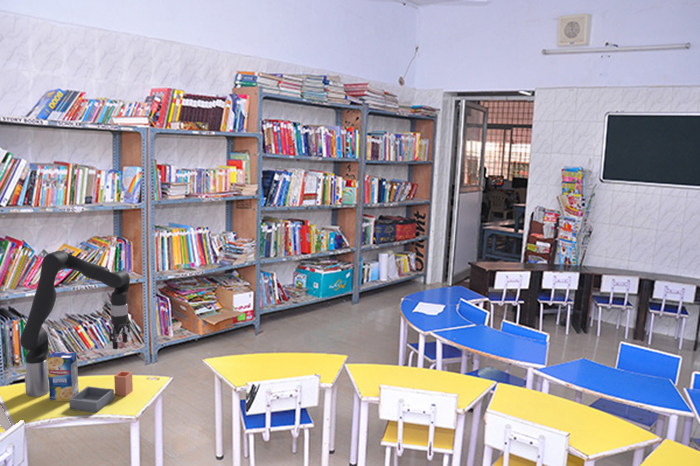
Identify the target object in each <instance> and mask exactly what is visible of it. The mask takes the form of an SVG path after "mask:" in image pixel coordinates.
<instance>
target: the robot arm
mask: <svg viewBox="0 0 700 466" xmlns="http://www.w3.org/2000/svg"><path fill="white" fill-rule="evenodd" d="M41 262H42V263H41V268H40V273H39V279H38V282H37V286H36V290H35V293H34V295H33V296H34V297H33V300H32V303H31V308H30V311H29V313H28V318H27V320H26V323H25V325H24V328H23V330H22V333H21V335H20V341H19V342H20V345H21V347H22V349H24V350H26V351H28V352H27V354H26V355H25V358H24V359H25V371H26V372H25V373H26V375H24V384H25V385H24V387H25V395H28V396H29V397H31V398H36V397H41V396H45V395H47V394H48V393H49V378H48V363H47V357H48V354H49V335H48V332H47V330H46V329H45V328H44V327H43V324H44V323H45V321H46V320H47V319H48V317H49V316H50V315H51V313H52V311H53V308H54V307H55V304H56V299H57V290H56V288H55V281H56V278H57V275H58V273H59V272H60V271H64V270H74V271H77V272H78V273H80V274H82V275H83V276H84V277H85V278H88V279H90V280H92V281H97V282H100V283H102V284H104V285H106V286H107V287H109V288H113V289H114V290H113V291H112V292H111V294H110V299H111V300H110V301H111V302H110V303H111V304H110V323H111V324H112V326H113V327H112V328H110V329H109V331H108V333H109V335H108V336H109V340H108V341H109V342H111V343H112V349H113V350H118V349H119V342H118V341H119V338H120V337H121V338H122V340H121V341H122V343H124V344H126V343H128V335H129V333H131V325H130V324H131V322H130V320H129V306H128V294H129V288H130V284H131V278H130V275H129V273H128V272H127V271H126V270H123V269H121V270H120V269H119V270H117V271H115V272H111V271H110V269H109V268H108V267H106V266H102V265H98V264H95V263H92V262H90V261H86V260H84V259H82V258H80V257H77V256H75V255H73V254H71V253H69V252H66V251H64V250H56V251H53V252H49V253H47V254H46V255H45V256H44V257H43V259H42V261H41ZM121 335H122V336H121Z"/></svg>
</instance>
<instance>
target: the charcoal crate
mask: <svg viewBox="0 0 700 466" xmlns="http://www.w3.org/2000/svg"><path fill="white" fill-rule="evenodd" d="M114 400H115V388H114V389H113V388H105V387H97V386H88V385H87V386H86V387H84V388H83V389H82V390H80V391H79V393H77V394H76V395H75V396H73V397H72V398H70V399H69V402H68V403H69V410H72V411H73V410H74V411H80V412H89V413H95V414H97V413H98V412H100V411H101V410H102V409H103V408H105V407H106V406H107V405H108V404H110V403H111V402H112V401H114Z"/></svg>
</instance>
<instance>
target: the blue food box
mask: <svg viewBox="0 0 700 466" xmlns="http://www.w3.org/2000/svg"><path fill="white" fill-rule="evenodd" d="M47 367H48V383H49V392H48V393H49V401H67V402H68V401H69V399H70V398H72V397H73V396H75V395H76V394H77V393H79V392H80V391H79V377H78V376H79V372H78V355H77V352H75V351H73V352H72V351H53V352H52V353H51V354H49V355H47Z"/></svg>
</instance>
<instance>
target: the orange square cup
mask: <svg viewBox="0 0 700 466" xmlns="http://www.w3.org/2000/svg"><path fill="white" fill-rule="evenodd" d="M113 376H114V396H120V397H121V396H123V397H127V396H128V395H130V393H132V392H133V391H134V390H133V388H134V387H133V372H132V371H124V370H123V371H122V370H121V371H119V372H118V373H116V374H115V375H113Z"/></svg>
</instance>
